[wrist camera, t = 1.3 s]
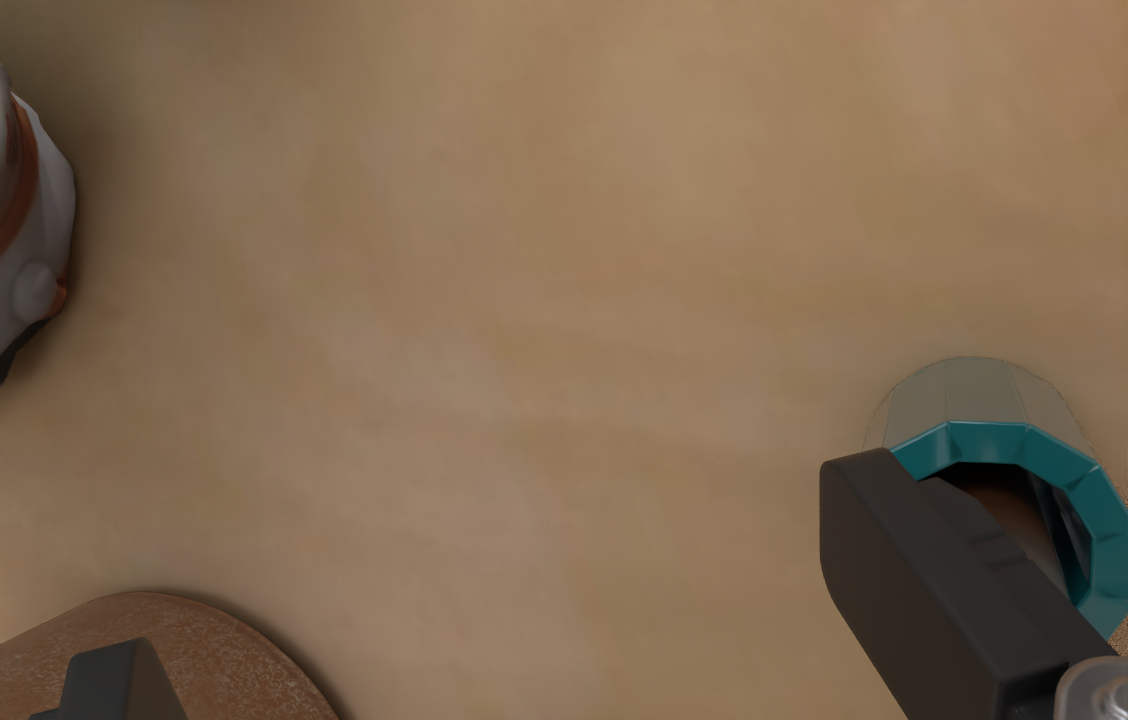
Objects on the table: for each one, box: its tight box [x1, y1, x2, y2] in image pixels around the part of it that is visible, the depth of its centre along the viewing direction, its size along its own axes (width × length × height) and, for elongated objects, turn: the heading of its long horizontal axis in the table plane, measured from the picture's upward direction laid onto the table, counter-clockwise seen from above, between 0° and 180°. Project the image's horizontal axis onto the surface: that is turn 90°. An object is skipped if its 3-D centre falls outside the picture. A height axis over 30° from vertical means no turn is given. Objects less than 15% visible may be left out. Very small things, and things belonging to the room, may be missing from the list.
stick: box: [922, 462, 1070, 601], centre depth 20 cm, size 2×2×16 cm
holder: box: [861, 357, 1128, 641], centre depth 24 cm, size 5×5×8 cm
